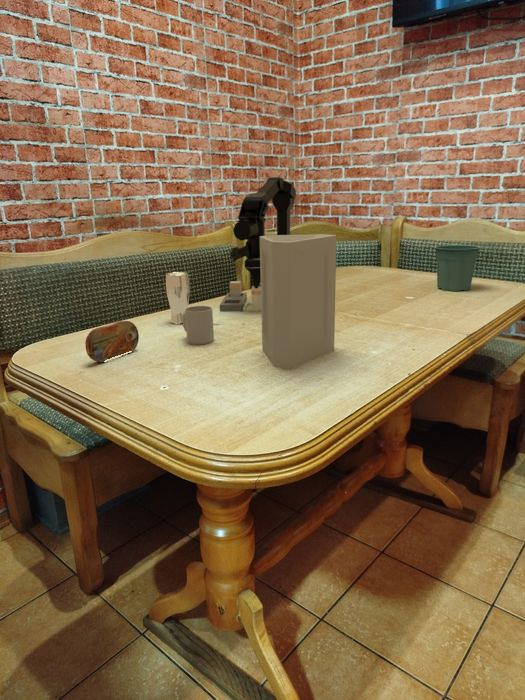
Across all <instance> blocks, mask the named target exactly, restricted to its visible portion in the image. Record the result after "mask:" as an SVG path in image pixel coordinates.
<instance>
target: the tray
mask: <svg viewBox="0 0 525 700" xmlns="http://www.w3.org/2000/svg"><path fill="white" fill-rule="evenodd" d="M242 312H261V308H252V302H245V304H244V307H243V309H242Z"/></svg>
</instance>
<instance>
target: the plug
mask: <svg viewBox="0 0 525 700" xmlns="http://www.w3.org/2000/svg"><path fill="white" fill-rule="evenodd" d="M250 292H251V293H250V294H251V303H252V308H261V285H259V286H258V288H254V285H251V289H250Z"/></svg>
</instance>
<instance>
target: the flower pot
mask: <svg viewBox="0 0 525 700" xmlns="http://www.w3.org/2000/svg"><path fill="white" fill-rule="evenodd" d="M434 249H435V259H436V282H437V283H436V286H437V287H438V288H441V289H440V290H441V291H442V290H443V291H447V290H449V291H448V292H461V291H469V290H470V289H471V287H472V282H473V277H474V271H475V268H476V267H475V266H476V260H477V258H478V254H479V250H480V249H481V246H478V245H470V244H469V245H468V244H466V245H465V244H444V245H437V246H434ZM438 288H437V289H438Z"/></svg>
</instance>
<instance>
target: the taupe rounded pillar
mask: <svg viewBox="0 0 525 700" xmlns="http://www.w3.org/2000/svg"><path fill="white" fill-rule="evenodd" d="M336 270H337V235H336V234H323V233H321V234H319V233H318V234H290V235H277V234H276V235H272V234H271V235H265V236H260V273H261V281H260V286H261V311H260V312H261V342H262V343H261V347H262V349H261V351H262V352H263V354H264V355H265V356H266V357H267V359H268V361H269V362H270V364H271V365H272V366H273V367H275V368H277V369H282V370H285V371H292V370H294V369H296V368H299V367H302V366H303V365H305V364H307V363H310V362H312V361H314V360H316V359H318V358H321V357H322V356H324V355H327V354H329V353H331V352H333V351H335V328H336V326H335V324H336V323H335V322H336V284H337V283H336V282H337V281H336V279H337V277H336V276H337V271H336Z"/></svg>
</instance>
